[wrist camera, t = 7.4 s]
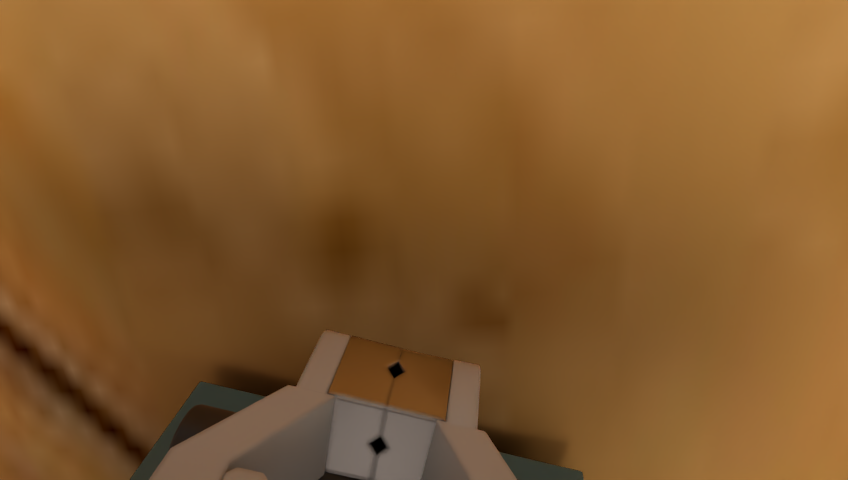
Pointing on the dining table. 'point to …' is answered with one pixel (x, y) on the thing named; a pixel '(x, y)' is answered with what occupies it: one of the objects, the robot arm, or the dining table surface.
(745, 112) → the dining table surface
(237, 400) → the drawer
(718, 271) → the dining table surface
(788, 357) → the dining table surface
